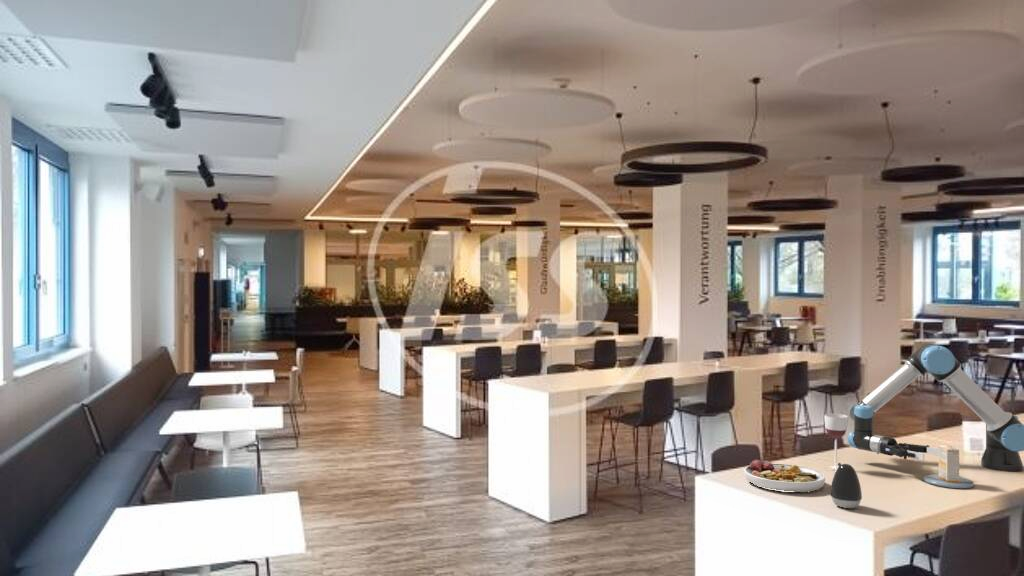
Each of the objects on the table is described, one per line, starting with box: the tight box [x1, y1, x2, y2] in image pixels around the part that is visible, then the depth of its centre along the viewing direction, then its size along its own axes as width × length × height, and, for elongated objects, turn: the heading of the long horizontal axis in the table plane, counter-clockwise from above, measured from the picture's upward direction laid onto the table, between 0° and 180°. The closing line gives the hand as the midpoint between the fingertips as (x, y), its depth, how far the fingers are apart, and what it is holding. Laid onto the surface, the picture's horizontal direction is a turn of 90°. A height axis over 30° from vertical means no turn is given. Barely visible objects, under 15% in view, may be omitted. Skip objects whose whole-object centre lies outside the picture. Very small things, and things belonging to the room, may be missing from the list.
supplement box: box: [938, 444, 960, 483], centre depth 289 cm, size 8×5×13 cm, turn 171°
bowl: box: [743, 459, 826, 493], centre depth 287 cm, size 30×30×8 cm
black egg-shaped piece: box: [829, 462, 863, 509], centre depth 257 cm, size 10×10×15 cm
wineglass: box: [823, 413, 849, 469], centre depth 312 cm, size 9×10×23 cm
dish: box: [923, 474, 975, 489], centre depth 289 cm, size 17×17×1 cm
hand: (933, 455), depth 294 cm, fingers open, 13 cm apart
